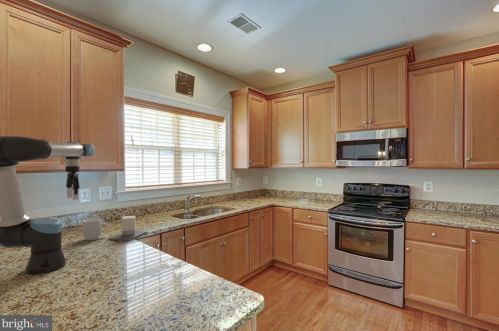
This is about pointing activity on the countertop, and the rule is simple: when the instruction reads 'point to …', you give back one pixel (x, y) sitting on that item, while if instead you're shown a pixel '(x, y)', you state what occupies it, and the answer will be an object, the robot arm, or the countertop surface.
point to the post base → (124, 238)
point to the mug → (93, 228)
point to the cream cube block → (128, 223)
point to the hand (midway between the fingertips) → (72, 198)
